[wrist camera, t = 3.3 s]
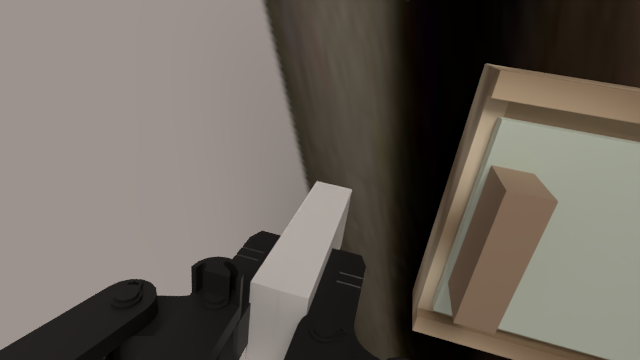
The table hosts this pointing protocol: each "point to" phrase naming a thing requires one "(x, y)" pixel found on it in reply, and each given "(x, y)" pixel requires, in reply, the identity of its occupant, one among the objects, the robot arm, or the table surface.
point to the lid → (551, 241)
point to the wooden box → (489, 103)
